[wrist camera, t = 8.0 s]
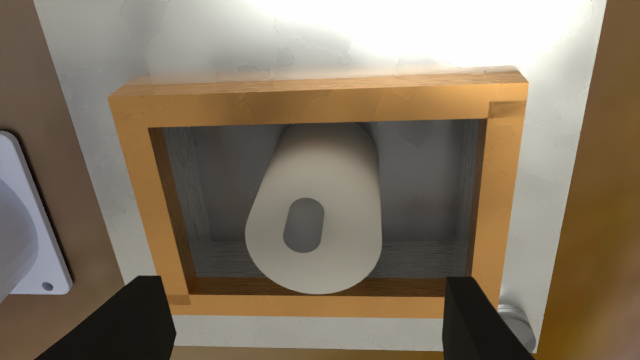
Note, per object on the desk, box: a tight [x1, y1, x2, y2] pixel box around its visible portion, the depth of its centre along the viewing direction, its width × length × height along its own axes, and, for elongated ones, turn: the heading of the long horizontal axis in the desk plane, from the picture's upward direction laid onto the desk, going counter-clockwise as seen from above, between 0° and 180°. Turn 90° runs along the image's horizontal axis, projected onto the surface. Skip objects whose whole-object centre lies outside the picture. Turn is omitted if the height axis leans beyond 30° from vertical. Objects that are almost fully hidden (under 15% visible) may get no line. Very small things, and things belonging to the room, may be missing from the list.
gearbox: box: [33, 0, 607, 354], centre depth 18 cm, size 16×14×4 cm
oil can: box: [245, 122, 382, 294], centre depth 16 cm, size 4×4×6 cm
